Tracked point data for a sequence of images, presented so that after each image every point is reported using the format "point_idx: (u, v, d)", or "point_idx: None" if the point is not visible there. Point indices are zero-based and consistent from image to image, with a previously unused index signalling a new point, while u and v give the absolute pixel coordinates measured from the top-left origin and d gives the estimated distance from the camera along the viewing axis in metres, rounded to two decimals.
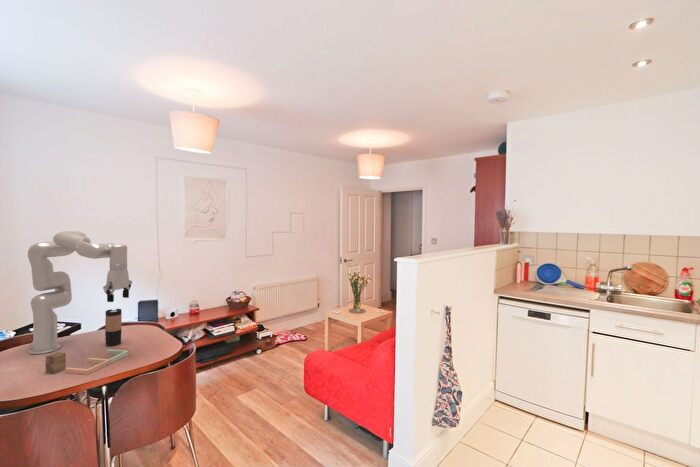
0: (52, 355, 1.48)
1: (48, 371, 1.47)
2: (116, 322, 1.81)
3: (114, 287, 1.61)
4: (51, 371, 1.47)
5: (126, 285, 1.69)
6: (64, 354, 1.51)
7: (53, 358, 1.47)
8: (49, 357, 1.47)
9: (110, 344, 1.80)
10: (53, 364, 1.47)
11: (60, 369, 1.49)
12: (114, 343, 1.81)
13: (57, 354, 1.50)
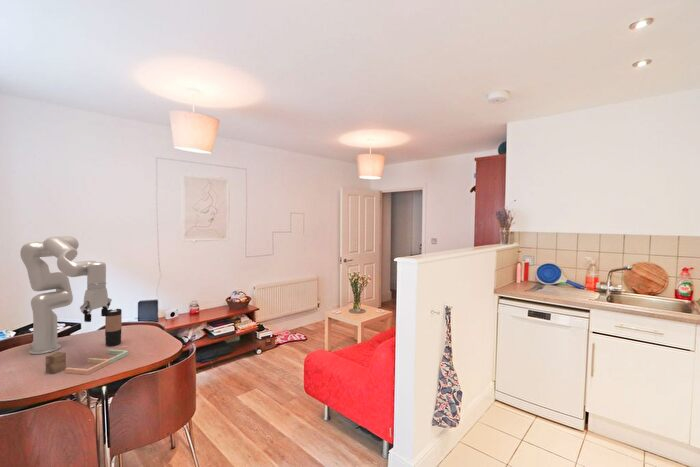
0: (52, 355, 1.48)
1: (48, 371, 1.47)
2: (116, 322, 1.81)
3: (92, 306, 1.58)
4: (51, 371, 1.47)
5: (105, 304, 1.65)
6: (64, 354, 1.51)
7: (53, 358, 1.47)
8: (49, 357, 1.47)
9: (110, 344, 1.80)
10: (53, 364, 1.47)
11: (60, 369, 1.49)
12: (114, 343, 1.81)
13: (57, 354, 1.50)
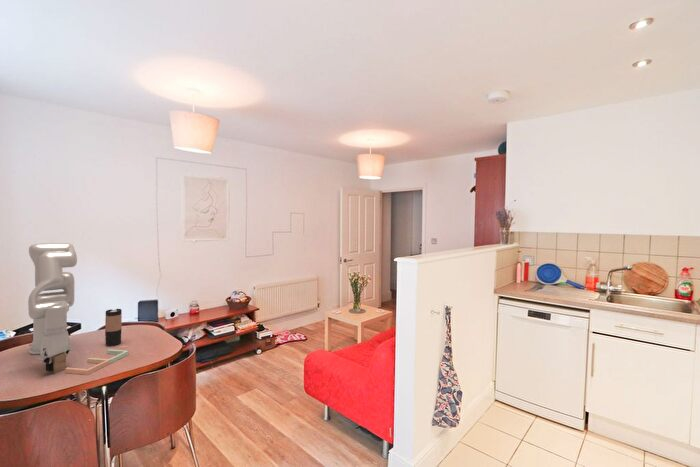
0: None
1: (48, 371, 1.47)
2: (116, 322, 1.81)
3: (49, 354, 1.45)
4: (51, 371, 1.47)
5: (66, 349, 1.52)
6: (64, 354, 1.51)
7: (53, 358, 1.47)
8: None
9: (110, 344, 1.80)
10: (53, 364, 1.47)
11: (60, 369, 1.49)
12: (114, 343, 1.81)
13: None
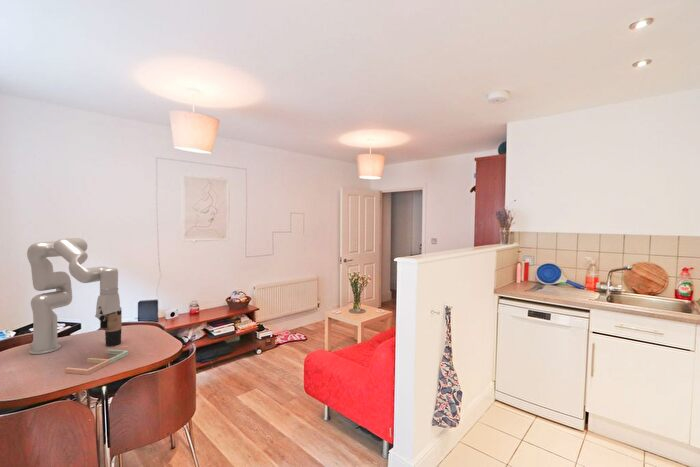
0: None
1: (102, 328, 1.62)
2: None
3: (104, 312, 1.59)
4: (105, 328, 1.62)
5: (117, 309, 1.67)
6: (116, 313, 1.66)
7: (107, 316, 1.61)
8: None
9: (110, 344, 1.80)
10: (107, 322, 1.61)
11: (113, 327, 1.64)
12: (114, 343, 1.81)
13: None
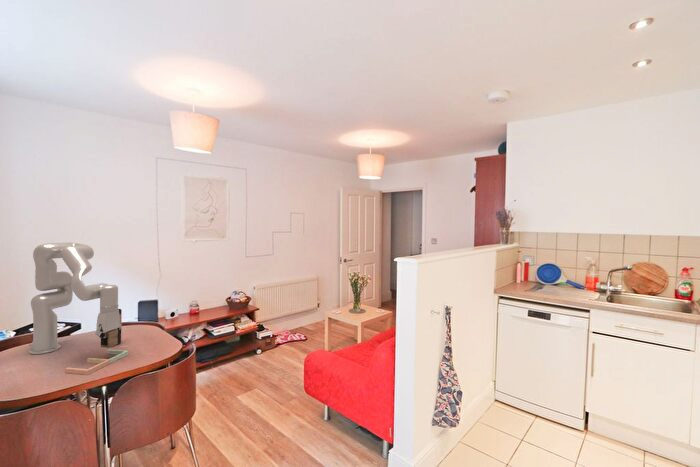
0: None
1: (103, 345, 1.62)
2: None
3: (104, 330, 1.59)
4: (106, 345, 1.62)
5: (117, 326, 1.67)
6: (116, 330, 1.66)
7: (107, 333, 1.62)
8: None
9: None
10: (108, 339, 1.62)
11: (113, 344, 1.64)
12: None
13: None
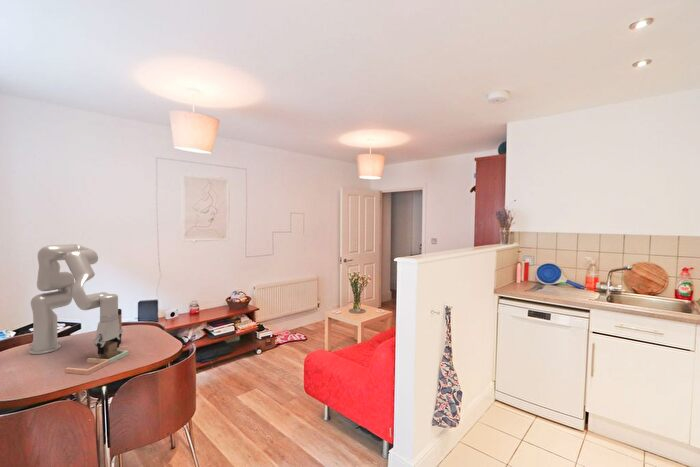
0: (106, 344, 1.63)
1: (102, 358, 1.62)
2: None
3: (104, 339, 1.60)
4: (105, 358, 1.62)
5: (117, 335, 1.67)
6: (116, 343, 1.66)
7: (107, 346, 1.62)
8: (103, 346, 1.62)
9: None
10: (107, 352, 1.62)
11: None
12: None
13: (110, 343, 1.65)
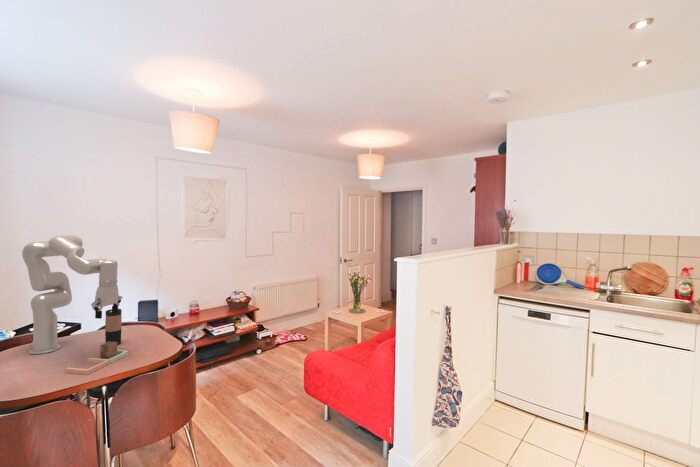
0: (106, 344, 1.63)
1: (102, 358, 1.62)
2: (116, 322, 1.81)
3: (102, 304, 1.61)
4: (105, 358, 1.62)
5: (115, 301, 1.69)
6: (116, 343, 1.66)
7: (107, 346, 1.62)
8: (103, 346, 1.62)
9: None
10: (107, 352, 1.62)
11: None
12: None
13: (110, 343, 1.65)
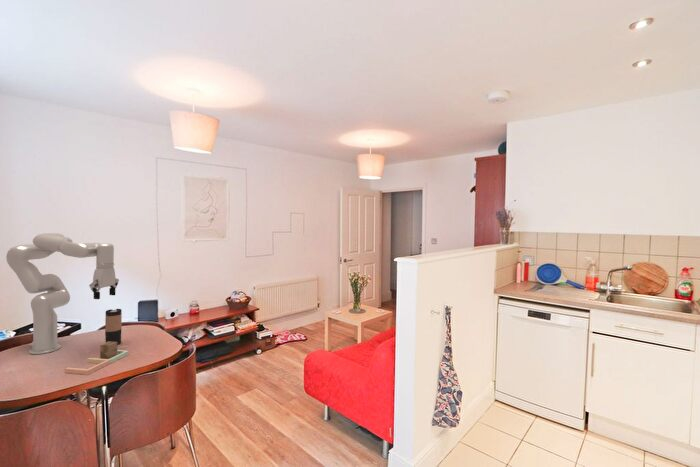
0: (106, 344, 1.63)
1: (102, 358, 1.62)
2: (116, 322, 1.81)
3: (100, 285, 1.68)
4: (105, 358, 1.62)
5: (112, 283, 1.75)
6: (116, 343, 1.66)
7: (107, 346, 1.62)
8: (103, 346, 1.62)
9: None
10: (107, 352, 1.62)
11: None
12: None
13: (110, 343, 1.65)
